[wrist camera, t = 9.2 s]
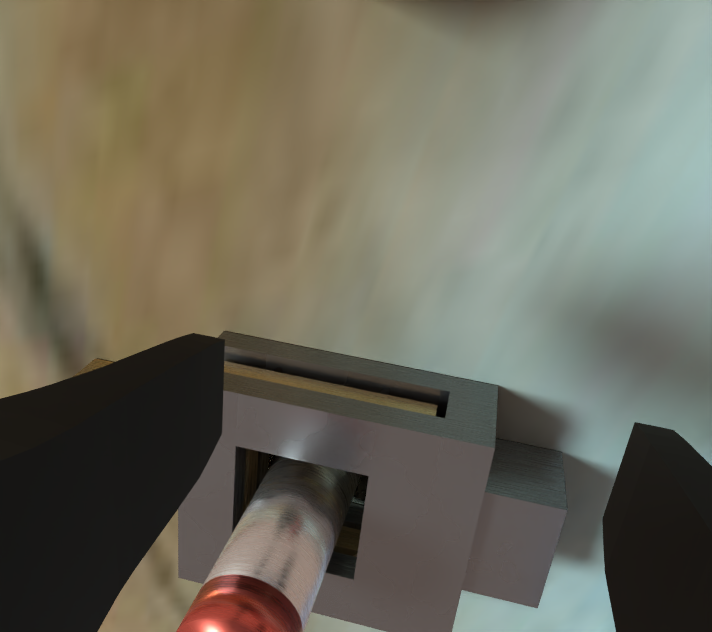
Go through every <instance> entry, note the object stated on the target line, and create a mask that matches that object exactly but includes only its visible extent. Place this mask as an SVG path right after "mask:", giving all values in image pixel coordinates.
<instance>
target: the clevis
mask: <svg viewBox="0 0 712 632" xmlns="http://www.w3.org/2000/svg"><path fill="white" fill-rule="evenodd" d="M218 338H220V339H225V353H224V387H223V420H222V435H221V437H220V439H219V441H218V443H217V445H216V447H215V449H214V451H213V453H212V455H211V457H210V459H209V461H208V463H207V465H206V466H205V468H204V470H203V472H202V474H201V476H200V478H199V479H198V481H197V482H196V484H195V485H194V486H193V488H192V489H191V491H190V492H189V494H188V495H187V497H186V498H185V499H184V501H183V502H182V504H181V505H180V507H179V508H178V568H179V578H182V579H186V580H190V581H194V582H198V583H202V584H204V582H205V580H206V579H207V577H208V575H209V573H210V572H211V570H212V568H213V566H214V565H215V563H216V561H217V559H218V558H219V556H220V554H221V552H222V551H223V549H224V547H225V545H226V544H227V542H228V540H229V538H230V537H231V535H232V533H233V531H234V530H235V528H236V526H237V524H238V522H239V521H240V519H241V517H242V515H243V514H244V512H245V510H246V508H247V507H248V505H249V503H250V501H251V500H252V498H253V496H254V494H255V493H256V491H257V489H258V487H259V486H260V484H261V482H262V480H263V479H264V477H265V475H266V473H267V472H268V459H269V454H273V455H278V456H282V457H287V458H291V459H295V460H300V461H304V462H309V463H313V464H318V465H322V466H326V467H331V468H335V469H340V470H344V471H349V472H353V473H357V474H362V475H366V476H369V477H368V484H367V491H366V498H365V505H364V506H363V505H359V504H355V503H351V504H350V507H349V509H348V512H347V515H346V518H345V520H344V523H343V526H342V529H341V531H340V534H339V537H338V540H337V542H336V545H335V548H334V550H333V553H332V556H331V559H330V561H329V564H328V567H327V570H326V572H325V575H324V578H323V581H322V583H321V586H320V589H319V591H318V594H317V597H316V600H315V602H314V605H313V608H312V611H311V612H314V613H317V614H321V615H325V616H329V617H333V618H337V619H341V620H344V621H348V622H352V623H356V624H360V625H364V626H368V627H371V628H375V629H379V630H383V631H387V632H452V628H453V624H454V620H455V615H456V611H457V607H458V603H459V598H460V594H461V590H465V591H469V592H473V593H477V594H482V595H486V596H490V597H494V598H498V599H502V600H506V601H510V602H514V603H518V604H522V605H526V606H530V607H534V608H538V605H539V602H540V599H541V596H542V592H543V589H544V586H545V583H546V579H547V576H548V573H549V569H550V566H551V563H552V560H553V556H554V553H555V550H556V547H557V543H558V540H559V537H560V533H561V530H562V527H563V524H564V520H565V517H566V514H567V511H568V510H567V501H566V491H565V481H564V471H563V462H562V452H558V451H554V450H549V449H544V448H539V447H535V446H530V445H525V444H520V443H516V442H511V441H506V440H501V439H497V438H496V419H497V399H498V386H497V385H492V384H487V383H482V382H477V381H472V380H467V379H462V378H457V377H452V376H447V375H442V374H437V373H432V372H427V371H422V370H417V369H412V368H407V367H402V366H397V365H392V364H387V363H382V362H377V361H372V360H367V359H362V358H357V357H352V356H347V355H342V354H337V353H332V352H327V351H322V350H317V349H312V348H306V347H301V346H296V345H291V344H286V343H281V342H276V341H271V340H266V339H261V338H256V337H251V336H246V335H241V334H236V333H231V332H226V331H224V332H223V333H222V334H221V335H220V336H219V337H218ZM111 363H114V362H110V361H106V360H101V359H94V360H93V361H92V362H91V363H89V364H88V365H87V366H86V367H84V368H83V369H82V370H81V371H80V372H78V373H77V374H76V375H75V376H77V375H80V374H83V373H86V372H89V371H92V370H95V369H98V368H101V367H103V366H106V365H109V364H111ZM75 376H73V377H75Z"/></svg>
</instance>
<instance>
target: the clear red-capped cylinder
mask: <svg viewBox="0 0 712 632" xmlns="http://www.w3.org/2000/svg"><path fill="white" fill-rule="evenodd" d="M360 477H361V474H357V473H353V472H349V471H344V470H340V469H335V468H331V467H326V466H322V465H318V464H313V463H309V462H304V461H300V460H295V459H291V458H287V457H282V456H278V455H277V456H276V458H275V459H274V461H273V463H272V465H271V466H270V468H269V470H268V472H267V473H266V475H265V477H264V479H263V480H262V482H261V484H260V486H259V487H258V489H257V491H256V493H255V494H254V496H253V498H252V500H251V501H250V503H249V505H248V507H247V508H246V510H245V512H244V514H243V515H242V517H241V519H240V521H239V522H238V524H237V526H236V528H235V530H234V531H233V533H232V535H231V537H230V538H229V540H228V542H227V544H226V545H225V547H224V549H223V551H222V552H221V554H220V556H219V558H218V559H217V561H216V563H215V565H214V566H213V568H212V570H211V572H210V573H209V575H208V577H207V579H206V580H205V582H204V584H203V586H202V587H201V589H200V591H199V593H198V594H197V596H196V598H195V600H194V601H193V603H192V605H191V607H190V608H189V610H188V612H187V614H186V616H185V617H184V619H183V621H182V623H181V624H180V626H179V628H178V630H177V631H176V632H304V630H305V627H306V624H307V622H308V619H309V616H310V613H311V611H312V608H313V605H314V602H315V600H316V597H317V594H318V591H319V589H320V586H321V583H322V581H323V578H324V575H325V572H326V570H327V567H328V564H329V561H330V559H331V556H332V553H333V550H334V548H335V545H336V542H337V540H338V537H339V534H340V531H341V529H342V526H343V523H344V520H345V518H346V515H347V512H348V509H349V507H350V504H351V501H352V499H353V496H354V493H355V490H356V488H357V485H358V482H359V479H360Z"/></svg>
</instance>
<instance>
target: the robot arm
mask: <svg viewBox="0 0 712 632" xmlns="http://www.w3.org/2000/svg"><path fill="white" fill-rule="evenodd" d="M224 353H225V339H220V338H215V337H210V336H205V335H200V334H195V333H193V334H189V335H185V336H182V337H179V338H176V339H173V340H170V341H168V342H165V343H162V344H160V345H157V346H155V347H152V348H150V349H147V350H144V351H142V352H139V353H137V354H134V355H132V356H129V357H127V358H124V359H121V360H119V361H116V362H114V363H111V364H109V365H106V366H103V367H101V368H98V369H95V370H92V371H89V372H86V373H83V374H80V375H77V376H75V377H72V378H69V379H66V380H63V381H60V382H57V383H54V384H51V385H48V386H45V387H42V388H38V389H35V390H31V391H28V392H24V393H21V394H17V395H13V396H9V397H5V398H1V399H0V632H97V631H98V630H99V628H100V626H101V624H102V622H103V621H104V619H105V617H106V615H107V614H108V612H109V610H110V608H111V607H112V605H113V603H114V601H115V599H116V598H117V596H118V594H119V593H120V591H121V589H122V588H123V586H124V585H125V583H126V582H127V580H128V579H129V577H130V576H131V574H132V572H133V571H134V570H135V568H136V567H137V565H138V564H139V563H140V561H141V560H142V558H143V557H144V556H145V554H146V553H147V551H148V550H149V549H150V547H151V546H152V544H153V543H154V542H155V540H156V539H157V537H158V536H159V535H160V533H161V532H162V530H163V529H164V528H165V526H166V525H167V523H168V522H169V521H170V519H171V518H172V516H173V515H174V514H175V512H176V511H177V509H178V508H179V507H180V505H181V504H182V502H183V501H184V499H185V498H186V497H187V495H188V494H189V492H190V491H191V489H192V488H193V486H194V485H195V484H196V482H197V481H198V479H199V478H200V476H201V474H202V472H203V470H204V468H205V466H206V465H207V463H208V461H209V459H210V457H211V455H212V453H213V451H214V449H215V447H216V445H217V443H218V441H219V439H220V437H221V435H222V420H223V387H224ZM603 545H604V562H605V574H606V580H607V586H608V591H609V596H610V602H611V607H612V612H613V618H614V623H615V628H616V632H712V466H711V465H710V464H709V463H708V462H707V461H706V460H705V459H704V458H703V457H702V456H701V455H700V454H699V453H698V452H697V451H696V450H695V449H694V448H693V447H692V446H691V445H690V444H689V443H688V442H686V441H685V440H684V439H683V438H682V437H681V436H680V435H679V434H677V433H676V432H675V431H674V430H671V429H666V428H661V427H656V426H651V425H646V424H641V423H636V422H635V423H634V426H633V429H632V432H631V435H630V438H629V441H628V444H627V447H626V450H625V453H624V456H623V459H622V462H621V465H620V468H619V471H618V474H617V477H616V480H615V483H614V486H613V489H612V492H611V495H610V498H609V501H608V504H607V507H606V510H605V513H604V516H603Z"/></svg>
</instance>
